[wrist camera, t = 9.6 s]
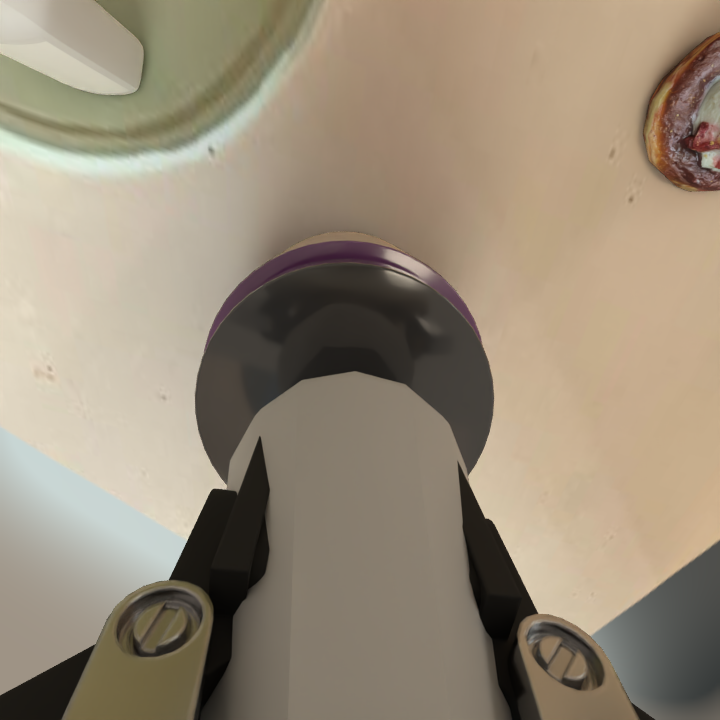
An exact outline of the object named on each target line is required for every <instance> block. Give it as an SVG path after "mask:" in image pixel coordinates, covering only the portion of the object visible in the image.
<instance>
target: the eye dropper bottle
mask: <svg viewBox="0 0 720 720" xmlns="http://www.w3.org/2000/svg"><path fill="white" fill-rule="evenodd" d="M0 54H2V55H5V56H7V57H9V58H11V59H13V60H15V61H17V62H19V63H21V64H24V65H26V66H28V67H30V68H32V69H34V70H36V71H38V72H40V73H43V74H45V75H47V76H49V77H51V78H53V79H55V80H57V81H59V82H62V83H64V84H66V85H69V86H71V87H74V88H77V89H79V90H83V91H86V92H91V93H96V94H103V95H124V94H130V93H133V92H135V91H137V90H138V88H139V85H140V81H141V75H142V67H143V59H144V51H143V46H142V44H141V43H140V41H139V40H138V39H137V38H136V37H135V36H134V35H133V34H132V33H131V32H130V31H129V30H128V29H126V28H125V27H124V26H123V25H122V24H121V23H119V22H118V21H117V20H116V19H115V18H114V17H113V16H111V15H110V14H109V13H108V12H107V11H106V10H104V9H103V8H102V7H101V6H100V5H99V4H97V3H96V2H95V1H94V0H0Z"/></svg>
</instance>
